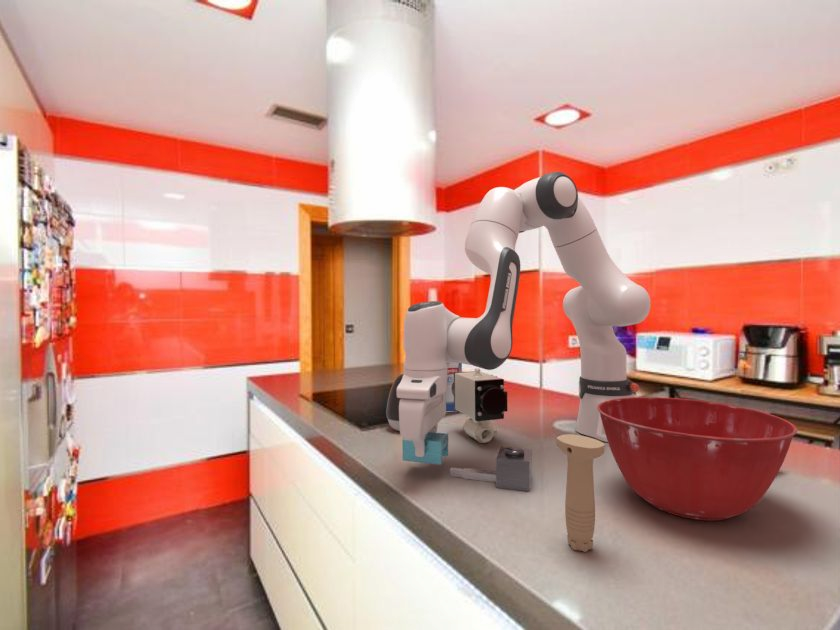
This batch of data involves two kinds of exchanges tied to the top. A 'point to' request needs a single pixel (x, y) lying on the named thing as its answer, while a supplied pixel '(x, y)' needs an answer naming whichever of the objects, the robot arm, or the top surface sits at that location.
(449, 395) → the milk carton
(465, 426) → the ball valve
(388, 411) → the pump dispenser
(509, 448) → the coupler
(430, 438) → the teal storage bin
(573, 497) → the handle
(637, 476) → the mixing bowl
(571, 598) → the top surface
